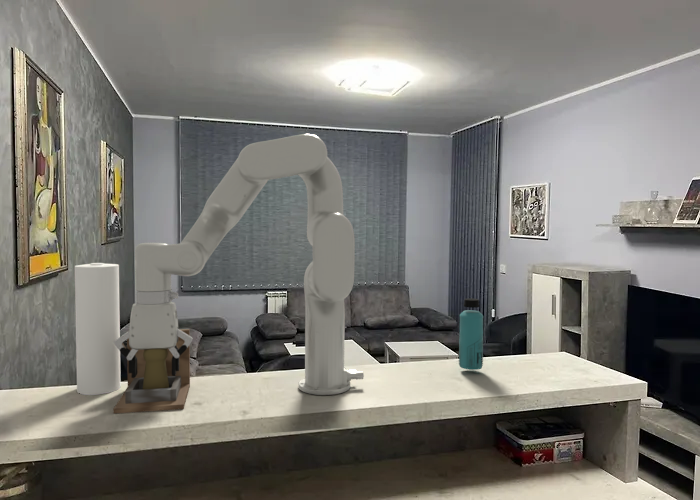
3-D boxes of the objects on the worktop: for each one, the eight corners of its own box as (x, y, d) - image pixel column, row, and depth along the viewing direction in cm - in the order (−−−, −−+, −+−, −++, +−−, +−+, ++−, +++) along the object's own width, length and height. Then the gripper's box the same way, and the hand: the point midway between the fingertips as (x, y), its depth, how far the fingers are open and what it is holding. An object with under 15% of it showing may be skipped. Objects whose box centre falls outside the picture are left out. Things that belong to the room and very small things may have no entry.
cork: (165, 398, 116) (164, 349, 116) (137, 398, 116) (136, 349, 116) (173, 390, 122) (173, 343, 122) (147, 389, 122) (146, 343, 122)
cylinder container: (82, 397, 120) (80, 265, 118) (72, 387, 127) (70, 262, 125) (125, 389, 126) (124, 263, 124) (114, 380, 133) (112, 261, 131)
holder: (189, 386, 129) (189, 329, 128) (183, 409, 113) (183, 344, 112) (128, 389, 126) (127, 331, 125) (113, 413, 110) (112, 347, 109)
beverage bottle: (478, 376, 139) (480, 301, 137) (454, 372, 142) (455, 299, 141) (486, 371, 144) (487, 298, 143) (462, 367, 148) (464, 296, 146)
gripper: (195, 294, 124) (195, 368, 125) (115, 296, 120) (116, 372, 121) (192, 299, 116) (193, 378, 117) (107, 301, 113) (109, 382, 114)
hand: (154, 374), depth 119 cm, fingers open, 8 cm apart
